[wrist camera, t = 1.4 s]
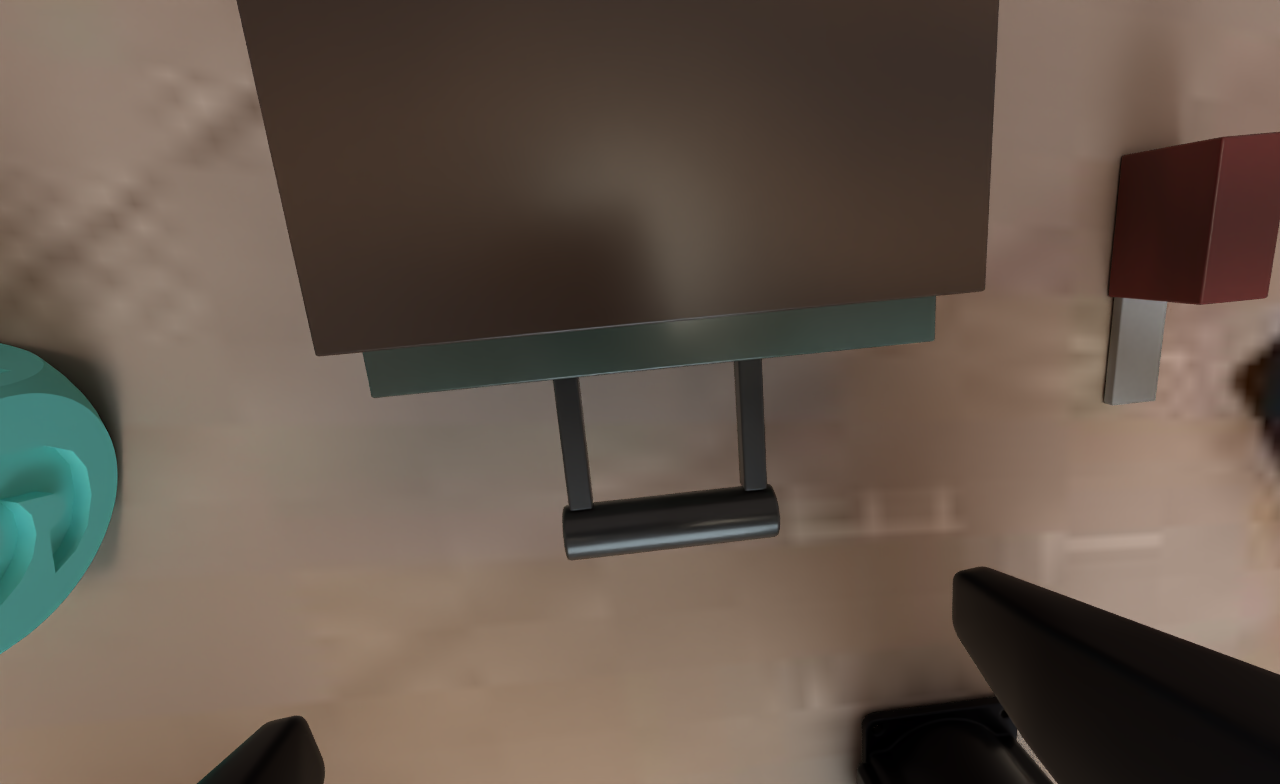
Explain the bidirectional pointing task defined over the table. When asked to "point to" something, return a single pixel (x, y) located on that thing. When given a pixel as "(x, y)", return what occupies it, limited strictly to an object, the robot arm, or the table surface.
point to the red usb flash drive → (1187, 244)
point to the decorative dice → (47, 490)
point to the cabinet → (620, 159)
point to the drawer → (648, 349)
